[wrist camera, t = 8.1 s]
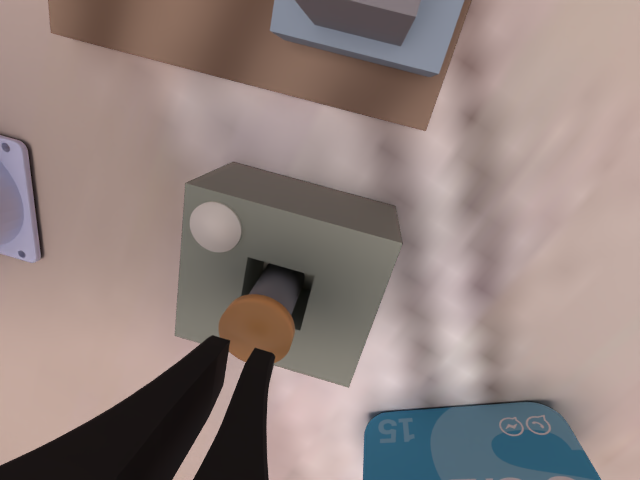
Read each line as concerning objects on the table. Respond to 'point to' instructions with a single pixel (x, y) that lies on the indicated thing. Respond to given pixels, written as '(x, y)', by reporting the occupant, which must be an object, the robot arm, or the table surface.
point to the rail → (252, 52)
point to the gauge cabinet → (287, 261)
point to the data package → (474, 445)
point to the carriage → (372, 29)
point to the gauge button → (263, 314)
